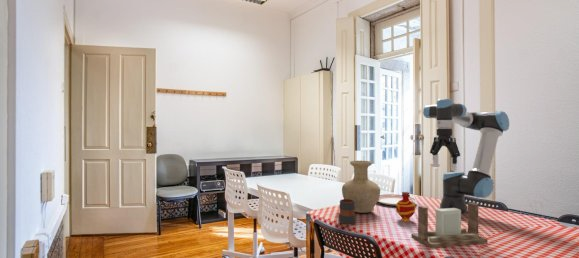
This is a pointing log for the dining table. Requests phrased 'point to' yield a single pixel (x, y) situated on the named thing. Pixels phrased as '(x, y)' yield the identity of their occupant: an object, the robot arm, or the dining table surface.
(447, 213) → the cream rectangular block
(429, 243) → the wooden rack
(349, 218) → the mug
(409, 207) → the potion bottle
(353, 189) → the vase
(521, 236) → the dining table surface
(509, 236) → the dining table surface
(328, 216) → the dining table surface
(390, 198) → the dinner plate
